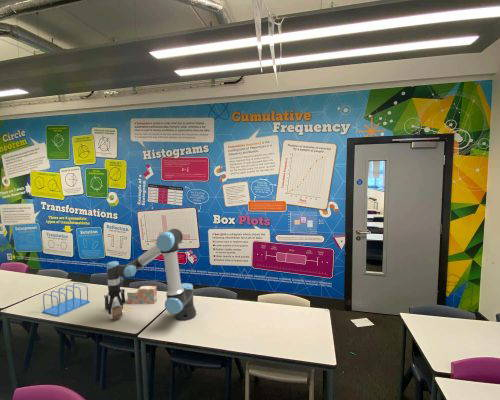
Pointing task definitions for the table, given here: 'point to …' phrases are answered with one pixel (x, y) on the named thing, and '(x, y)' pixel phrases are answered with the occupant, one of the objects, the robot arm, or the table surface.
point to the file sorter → (65, 303)
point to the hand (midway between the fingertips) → (116, 315)
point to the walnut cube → (117, 312)
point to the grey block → (115, 302)
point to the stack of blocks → (143, 295)
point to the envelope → (126, 309)
